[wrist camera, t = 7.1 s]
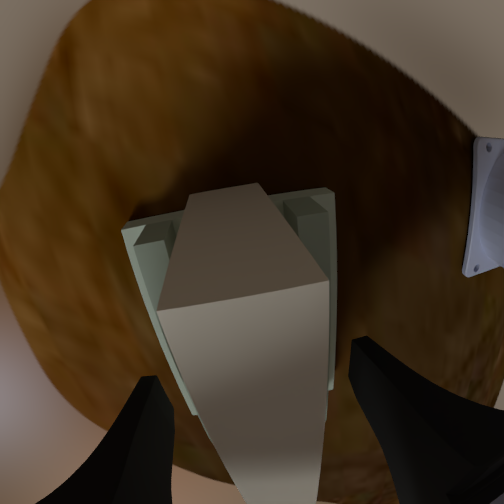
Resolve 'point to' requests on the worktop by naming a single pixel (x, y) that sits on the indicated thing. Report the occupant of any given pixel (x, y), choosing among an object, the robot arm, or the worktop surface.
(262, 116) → the worktop surface
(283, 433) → the beige rectangular block
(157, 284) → the rack
